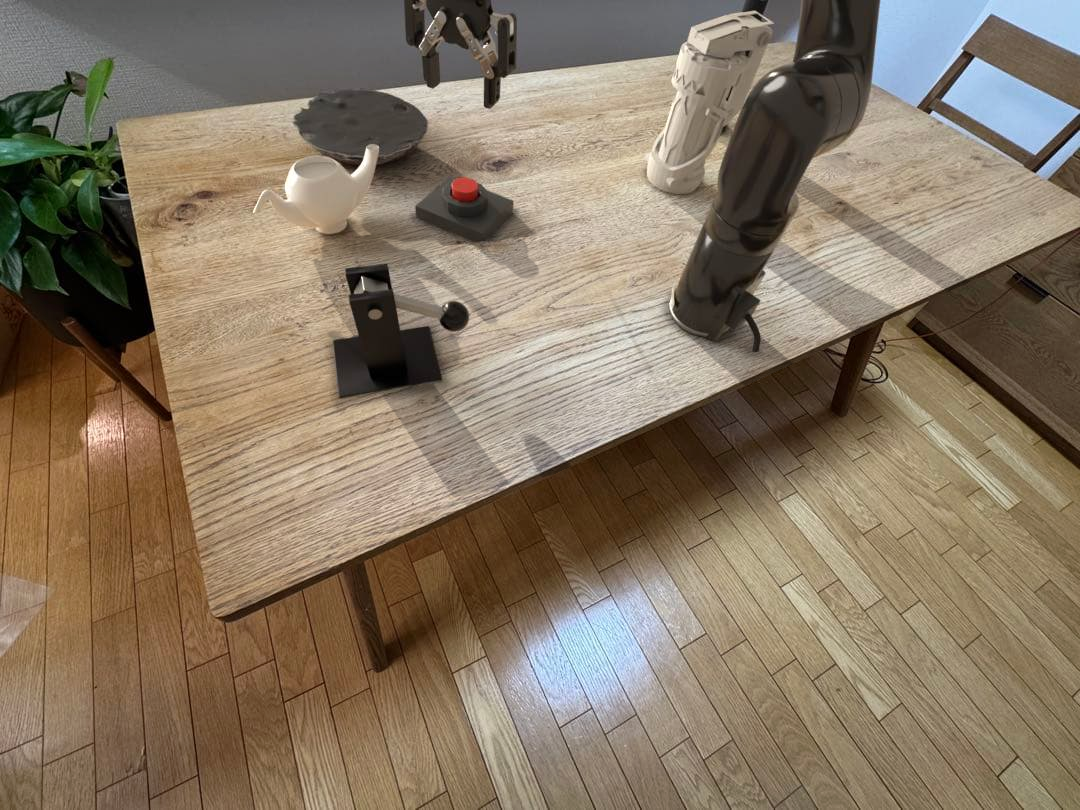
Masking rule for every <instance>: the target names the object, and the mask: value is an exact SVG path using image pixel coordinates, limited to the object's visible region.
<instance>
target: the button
mask: <svg viewBox="0 0 1080 810" xmlns="http://www.w3.org/2000/svg"><path fill="white" fill-rule="evenodd" d="M477 183H478V182H477V181H476V180H475V179H473V178H470V177H459V178H457V179H456V180H454V181H453V182H452V196H453V198H454V199H456V200H458V201H460V202H471V201H474V200H476V199H477V198H478V184H477Z"/></svg>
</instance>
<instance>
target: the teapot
mask: <svg viewBox="0 0 1080 810" xmlns="http://www.w3.org/2000/svg"><path fill="white" fill-rule="evenodd" d="M378 154H379V147H378V146H377V145H375V144H370V145H368V146H367V147H366V151H365V155H364V159H363V161H362V163H361V165H358V167H357V169H355V171H353V172H352V173H350V172H349V171H348V170H347V169H346V168H345V167H344V166H343V164H342V163H338V162H337V161H335V160H334V159H331V158H329V157H327V156H325V155H309V156H305V157H303V158H300V159H299V160H296V162H294V163H293V164H292V166H291V168H290V169H289V171H288V173H287V177H286V179H285V182H284V192H285V196H286V198H287V199H284V198H282V197H281V196H280V195H279V194H278V193H276V192H275V191H273V190H270V189H265V190H263V191H262V192H261V194H260V195H259V198H258V199H257V202H256V205H255V207H254V208H253V211H252V213H253V214H259V213H261V212H262V211H263V210H264V207H265V204H266V203H267V201H269V203H270V205H271V207H272V209H273V210H274V211H275V213H276V214H277V215H278V216H279V217H281V218H282V219H283V220H284V221H286V222H287V223H289V224H291V225H293V226H295V227H299V228H301V229H302V228H303V229H314V230H316V231H317V232H319V233H321V234H325V235H333V234H337V233H340V232H342V231H343V230H345V229H346V228H347V225H348V221H347V219H348V218H349V217H350V216H351V215H352V213H353V212H354V210H355V209H357V208H358V207H359V206H360V205H362V203H363V201H364V199H365V197H366V196H367V194H368V192H369V189H370V187H371V184H372V182H373V178H374V176H375V175H374V174H375V171H376V167H377V164H376V162H377V158H378Z"/></svg>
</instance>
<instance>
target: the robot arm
mask: <svg viewBox="0 0 1080 810" xmlns="http://www.w3.org/2000/svg"><path fill="white" fill-rule="evenodd" d="M403 6H404V7H403V11H404V30H405V41H406V44H407V45H408V46H409V47H415V48H416V49H417V50H418V52H419V54H420V55H421V61H422V62H421V63H422V65H421V66H422V77H423V79H424V82H425V83H426V87H427V88H430V89H435V88H436V87H438V86H440V84H441V70H440V69H441V68H440V52H439V51H437V48H438V47H439V46H440V44H441V42H442V41H443V40H444V42H445V43H447V44H450V45H457V46H459V47H460V48H461V49H464V50H469V51H470V53H471V54H472V56H473V58H474V60H475V61H477V62H478V63H479V65H480V67H481V69H482V71H483V74H484V75H485V76H484V77H483V107H484V108H485V109H488V110H491V109H492V108H493V107H494V106H496V104H497V103H498V102H499V101H500V99H501V84H502V83H501V82H502V79H505V78H506V77H508V76H509V75H511V74H512V73H513V72H514V71H515V70H516V69H517V37H518V36H517V32H518V30H517V29H518V27H517V26H518V19H517V15H516V14H515V13H514V12H509V13H508V14H506V15H505V14H501V13H498V12H494V8H493V5H492V0H403ZM426 8H427V11H428V12H429V14H430V16H431V19H432V22H431V24H430V26H429V27H428V29H427V30H426V23H425V9H426ZM880 8H881V0H800V13H799V20H798V21H799V22H798V29H797V30H798V31H797V37H796V43H795V49H794V55H793V58H792V62H790V63H786V64H783V65H780V66H777V67H775V68H773V69H771V70H770V71H768V72H767V73H766V74H763V76H762V77H760V78H759V80H758V81H756V83H755V84H754V86H753V87H752V88H751V89H750V91H749V92H748V94H747V97H746V99H745V102H744V104H743V107H742V109H741V110H740V111H739V113H738V116H737V119H736V122H735V124H734V127H733V129H732V132H731V135H730V138H729V141H728V143H727V147H726V149H725V151H724V155H723V157H722V160H721V163H720V165H719V171H718V174H717V191H716V193H715V195H714V199H713V201H712V203H711V206H710V208H709V211H708V213H707V215H706V217H705V220H704V222H703V224H702V227H701V229H700V231H699V234H698V236H697V238H696V240H695V243H694V245H693V248H692V250H691V251H690V254H689V257H688V259H687V261H686V264H685V266H684V269H683V271H682V273H681V276H680V278H679V280H678V283H677V285H676V287H675V285H673V287H672V289H671V298H670V300H669V303H668V312H669V315H670V317H671V319H672V320H673V322H675V324H676V325H677V326H679V327H680V328H681V329H683V330H684V331H685V332H687V333H689V334H691V335H694V336H698V337H703V338H707V339H709V340H710V341H712V342H716V340H718V339H719V338H720V337H721V336H722V335H724V334H726V333H727V332H728V331H729V330H730V329H731V330H733V331H736V330H737V329H738V328H740V326H742V325H743V324H744V323H745V322H746V323H747V324H748V326H749V328H750V330H751V332H752V335H753V344H752V353H759V352H760V347H761V342H762V341H761V340H762V338H761V333H760V329H759V327H758V325H757V323H756V321H755V320H754V317H753V316H752V315H753V314H754V313H755V311H756V309H757V308H758V306H759V304H760V303H761V299H760V298H758V297H756V296H755V295H754V294H755V292H757V290H758V287H759V286H760V284H761V283H762V281H763V279H764V277H765V276H766V271H765V270H764V269H765V267H766V265H767V264H768V262H769V260H770V258H771V257H772V255H773V253H774V252H775V250H776V248H777V247H778V245H779V243H780V242H781V240H782V238H783V236H784V235H785V233H786V232H787V230H788V228H789V227H790V225H791V223H792V221H793V219H795V216H796V215H797V212H798V210H799V207H800V199H799V196H798V194H797V192H796V190H797V188H798V186H799V184H800V182H801V180H802V178H803V176H804V174H805V173H806V171H807V169H808V167H809V166H810V164H811V162H812V160H813V159H815V158H817V157H820V156H822V155H824V154H826V153H829V152H830V151H833V150H834V149H837V148H838V147H839V146H842V144H844V143H845V142H846V141H848V139H849V138H850V137H851V136H853V134H854V133H855V131H857V129H858V127H859V125H860V124H861V122H862V121H863V119H864V116H865V115H866V112H867V108H868V104H869V101H870V96H871V90H872V83H873V74H874V66H875V65H874V64H875V53H876V45H877V34H878V26H879V17H880ZM491 27H492V28H493V30H494V37H496V38H497V44H496V42H495V40H494V38H493V36H492V34H491V32H490V29H491ZM481 42H482V44H483V47H482V46H481Z"/></svg>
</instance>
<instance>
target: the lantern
mask: <svg viewBox="0 0 1080 810" xmlns="http://www.w3.org/2000/svg"><path fill="white" fill-rule="evenodd" d="M752 14H758V15H759V13H758V12H756V11H750V12H742V11H741V12H735V13H729V14H725V15H722V16H719V17H716V18H714V19H710V20H707V21H704V22H701V23H699V24H696V25H693V26H691V27H690V30H689V33H688V37H687V40H686V41H685V42H684V43H682V44H681V46H680V50H679V53H678V57H677V60H676V64H675V67H674V70H673V74H672V77H671V84H672V86H673V88H674V89H675V93H674V96H673V100H672V103H671V107H670V109H669V110H670V111H669V113H668V117H667V119H666V124H665V126H664V128H663V130H662V131H660V133H659V134H658V136H657V137H656V139H655V141H654V143H653V146H652V148H651V150H650V151H648V152H646V153H645V155H644V156H643V160H644V161H645V162H646V163H647V167H646V176H647V179H648V181H649V182H650V184H652V185H653V186H654V187H655V188H657V189H659V190H661V191H663V192H665V193H669V194H674V195H686V194H687V195H688V194H690V193H692V192H694V191H696V189H697V188H699V187H698V186H700V184H701V182H702V180H703V178H704V177H705V173H706V170H705V165H706V160H707V158H708V157H709V155H710V154H711V153H712V151H713V150H714V148H715V147H716V145H717V143H718V141H719V139H720V136H721V134H722V132H721V131H722V128H723V127H724V126H726V125H727V126H728V124H729V123H730V122H731V121H732V120H733V119H734V118H735V117H736V115H737V114H739V113H740V111H741V109H742V107H743V105H744V103H745V101H746V99H747V97H748V95H749V93H750V91H751V88H752V85H753V82H754V79H755V77H756V75H757V72H758V69H759V68H760V65H761V63H762V60H763V57H764V55H765V53H766V50H767V48H768V45H769V43H770V41H771V37H772V35H773V28H772V27H770V26H771V25H772V26H773V25H775V22H774V21H772V20H770V19H769V18H767V16H764V15H763V16H762V15H761V14H760V16H761V17H762V19H764V20H766V21H759V20H758V19H756V18H755V17H753V16H751V15H752ZM747 50H750V52H749V55H748V57H746V56H745V51H747ZM733 85H734V86H733ZM732 86H733V89H732V91H731V94H730V96H729V99H728V102H727V101H726V98H727V97H728V94H729V92H730V89H731V87H732Z"/></svg>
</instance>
